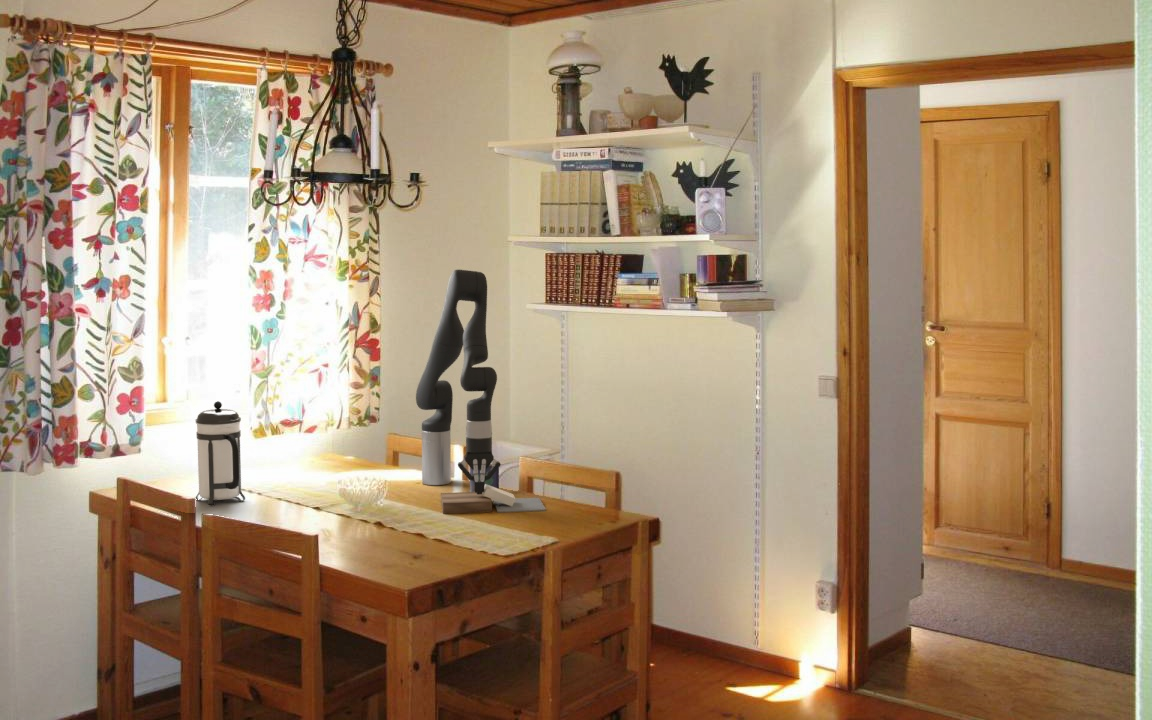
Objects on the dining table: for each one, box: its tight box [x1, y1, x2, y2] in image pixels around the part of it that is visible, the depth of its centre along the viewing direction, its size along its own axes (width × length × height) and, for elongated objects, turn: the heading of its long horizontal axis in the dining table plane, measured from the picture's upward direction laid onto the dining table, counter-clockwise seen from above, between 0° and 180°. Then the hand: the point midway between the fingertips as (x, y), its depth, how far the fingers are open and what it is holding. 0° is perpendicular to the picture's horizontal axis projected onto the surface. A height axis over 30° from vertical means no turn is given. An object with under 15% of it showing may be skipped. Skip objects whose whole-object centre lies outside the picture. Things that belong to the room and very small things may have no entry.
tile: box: [482, 484, 516, 506], centre depth 323 cm, size 6×9×2 cm, turn 100°
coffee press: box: [194, 401, 246, 506], centre depth 327 cm, size 17×16×30 cm
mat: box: [492, 497, 547, 513], centre depth 324 cm, size 16×14×1 cm
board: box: [440, 491, 493, 514], centre depth 322 cm, size 14×14×3 cm
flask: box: [469, 463, 500, 492], centre depth 341 cm, size 9×3×11 cm, turn 109°
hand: (479, 493), depth 322 cm, fingers closed
